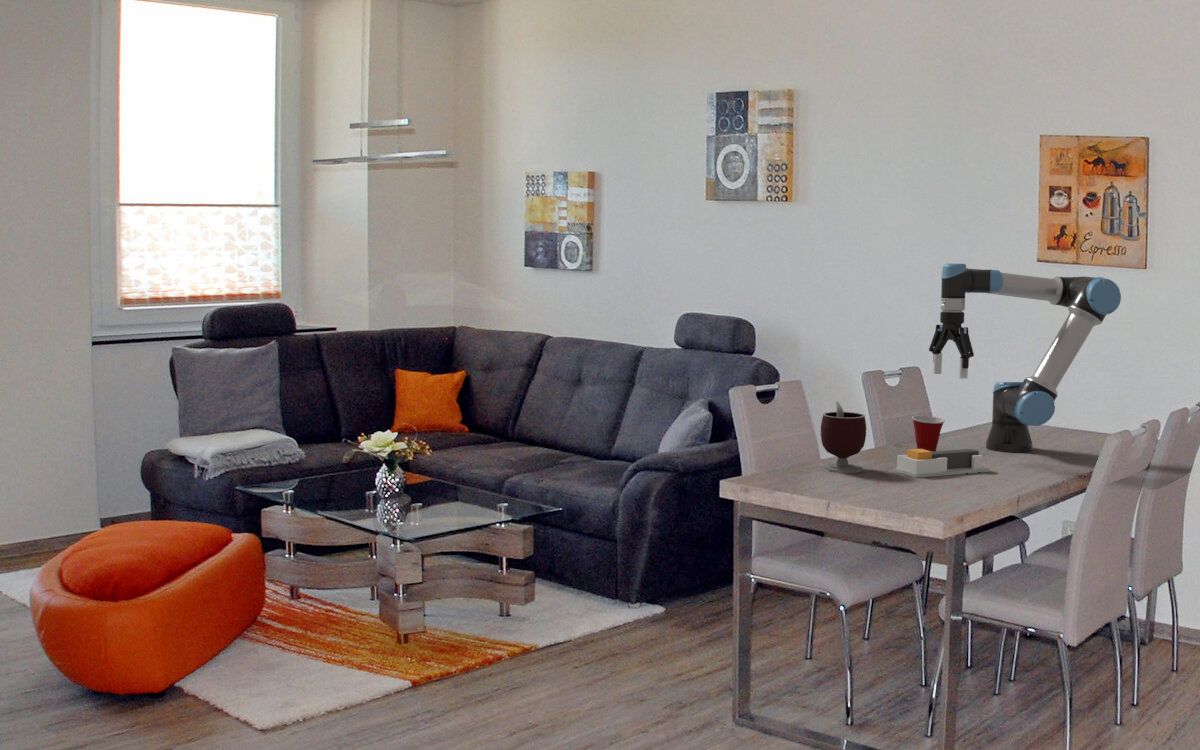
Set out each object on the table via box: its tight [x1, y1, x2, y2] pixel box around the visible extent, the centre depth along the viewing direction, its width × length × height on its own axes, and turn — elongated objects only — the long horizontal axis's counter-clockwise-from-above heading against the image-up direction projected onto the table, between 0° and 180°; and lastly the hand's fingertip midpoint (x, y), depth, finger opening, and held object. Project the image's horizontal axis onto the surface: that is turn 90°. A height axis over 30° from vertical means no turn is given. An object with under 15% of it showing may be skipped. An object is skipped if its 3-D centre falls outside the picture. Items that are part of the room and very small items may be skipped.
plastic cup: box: [911, 415, 946, 452], centre depth 419 cm, size 11×11×12 cm
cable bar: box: [906, 448, 980, 469], centre depth 388 cm, size 23×6×6 cm, turn 111°
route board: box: [894, 454, 991, 478], centre depth 388 cm, size 27×11×5 cm, turn 111°
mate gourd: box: [820, 401, 867, 474], centre depth 390 cm, size 16×14×20 cm
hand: (950, 376), depth 410 cm, fingers open, 13 cm apart
